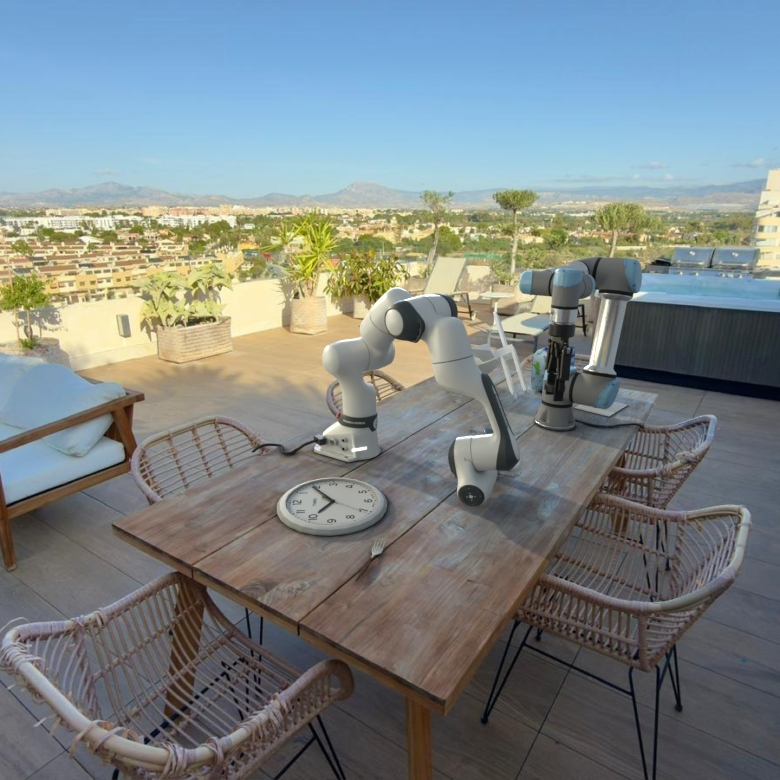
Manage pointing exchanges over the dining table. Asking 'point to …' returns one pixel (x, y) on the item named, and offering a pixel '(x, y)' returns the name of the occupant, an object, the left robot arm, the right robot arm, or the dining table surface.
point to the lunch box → (542, 367)
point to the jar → (488, 429)
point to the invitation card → (606, 412)
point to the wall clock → (331, 506)
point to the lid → (550, 386)
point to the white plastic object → (499, 359)
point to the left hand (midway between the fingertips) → (490, 452)
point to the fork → (375, 551)
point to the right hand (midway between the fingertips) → (553, 397)
